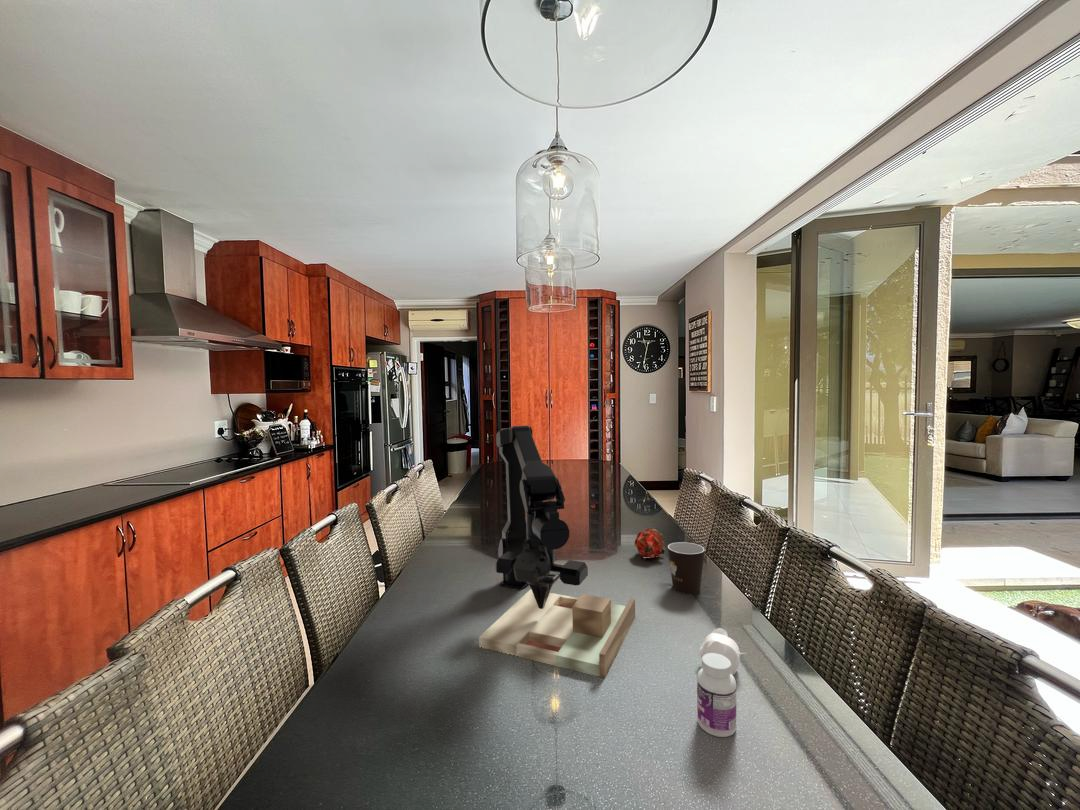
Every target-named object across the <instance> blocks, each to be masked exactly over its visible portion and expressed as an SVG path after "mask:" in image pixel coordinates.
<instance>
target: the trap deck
mask: <svg viewBox="0 0 1080 810" xmlns="http://www.w3.org/2000/svg"><path fill="white" fill-rule="evenodd" d="M579 598H580V597H576V596H571V595H565V594H564V595H563V594H558V593H553V592H550V593H549V596H548V598H547V601H546V604H545V606H544V608H543V609H539V607H538V605H537V602H536V600H535V597H534V594H533V592H532V589H531V588H530V589H529V590H528V591H526V593H525V594H524V595H522V596H521V597H520V598H519V599H518V600H517V601H516V602H515V603H514V604H512V606H510V607H509V609H507V610H506V611H505V612H504V613H503V614H502V615H501V616H500V617H499V618H498V619H496V621H494V622H493V623H492V624H491V625H490V626H488V628H487V629H486V630H485V631H484V632H483V633H482V634H481V635H479V637H478V647H479V648H481V647H482V648H481V649H486V650H489V649H490V651H493V650H494V651H493V652H497V651H498V653H501V652H502V653H501V654H505V653H506V654H505V655H509V654H511V655H510V656H513V655H515V656H514V657H517V656H519V657H518V658H522V659H525V660H530V661H533V662H534V661H535V662H538V663H542V664H547V665H551V666H555V667H559V668H562V669H563V668H564V669H567V670H570V671H575V672H580V673H583V674H587V675H591V676H595V677H599V678H603V679H606V677H607V675H608V674H609V671H610V669H611V667H612V665H613V663H614V661H615V659H616V657H617V655H618V653H619V651H620V649H621V647H622V645H623V643H624V641H625V639H626V636H627V634H628V633H629V631H630V628H631V626H632V625H633V623H634V621H635V618H636V598H633V597H630V598H629V600H628V601H627V603H626V606H625V605H622V604H615V603H611V624H610V626H609V628H608V629H607V631H606V633H605V635H604V636H603V638H600V637H595V636H590V635H586V634H581V633H576V632H573V619H572V606H573V605H574V604H575V603H576V601H577V600H578V599H579Z"/></svg>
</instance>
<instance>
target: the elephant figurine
mask: <svg viewBox="0 0 1080 810" xmlns="http://www.w3.org/2000/svg"><path fill="white" fill-rule="evenodd" d="M698 650H699V652H698V653H699V654H698V656H699V657H700V658H701V659H702V657H703V656H704V655H705V654H708V653H716V654H720V655H723V656H725V657H726V658H728V659H729V660H730V662H731V674H732V675H733V676H734V675H735V674H736V672H737V670H738V668H739V665H740V657H741V656H742V655H745V654H747V653H748V652H747V651H746V652H740V648H739V646H738V644H737V643H736V641H735V640H734V639H733V638H731V637H730V636H729V635H728V632H727V630H726V629H725V628H724V629H723V628H721V627H718V628H715V629H714V630H713V631H712V632H710V633H709V634H708V635H706V637H705V639H704V641H703V643H702V644H701V645H700V647H699V649H698Z"/></svg>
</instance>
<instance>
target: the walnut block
mask: <svg viewBox="0 0 1080 810" xmlns="http://www.w3.org/2000/svg"><path fill="white" fill-rule="evenodd" d="M578 598H579V599H578V600H577V601H576V603H575V604H574V605H573V606H572V619H573V632H576V633H581V634H586V635H590V636H595V637H600V638H603V636H604V635H605V633H606V631H607V629H608V628H609V626H610V624H611V604H612V601H611V599H612V598H607V597H601V596H595V595H589V594H585V593H582V594H581V595H580V596H579V597H578Z"/></svg>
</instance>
